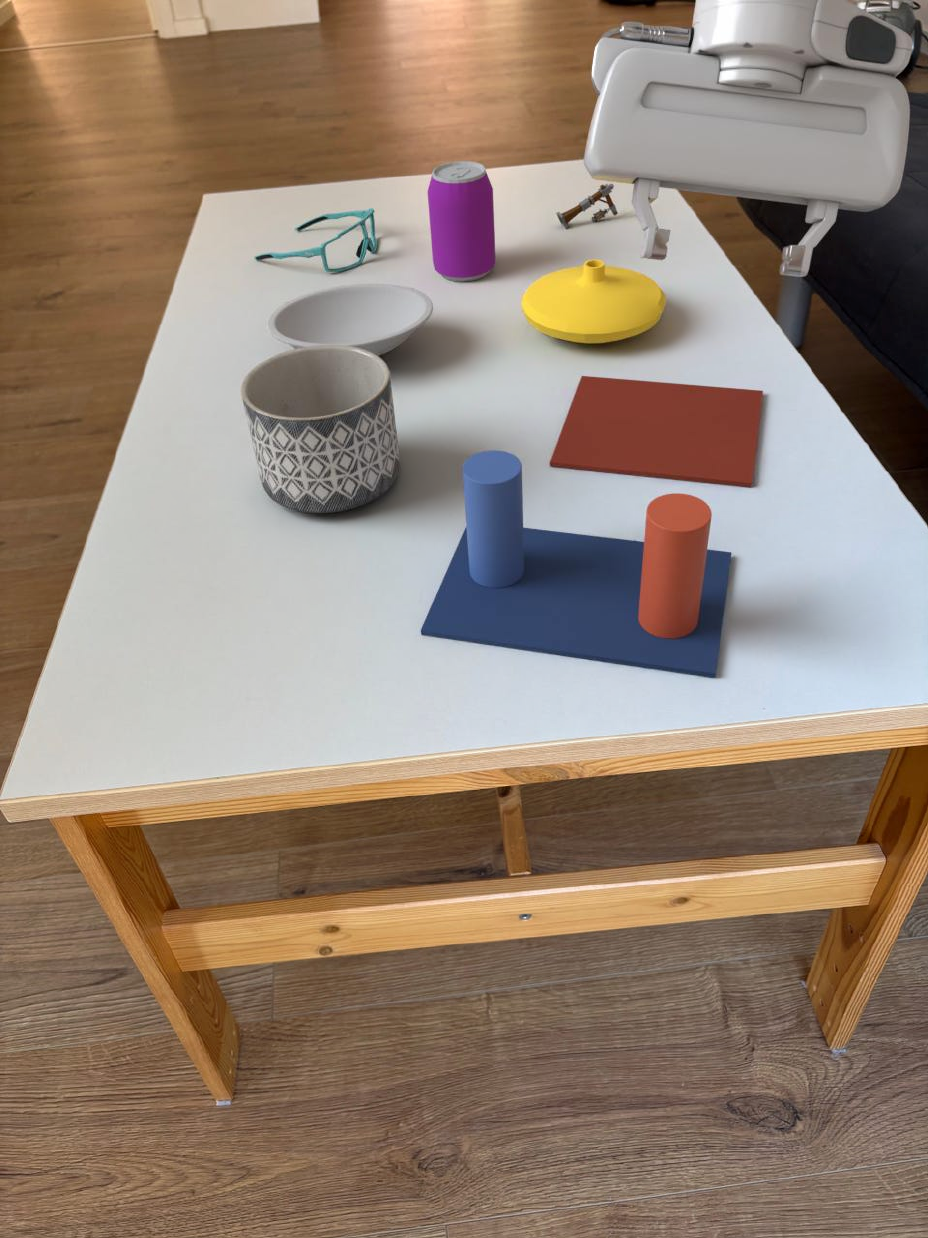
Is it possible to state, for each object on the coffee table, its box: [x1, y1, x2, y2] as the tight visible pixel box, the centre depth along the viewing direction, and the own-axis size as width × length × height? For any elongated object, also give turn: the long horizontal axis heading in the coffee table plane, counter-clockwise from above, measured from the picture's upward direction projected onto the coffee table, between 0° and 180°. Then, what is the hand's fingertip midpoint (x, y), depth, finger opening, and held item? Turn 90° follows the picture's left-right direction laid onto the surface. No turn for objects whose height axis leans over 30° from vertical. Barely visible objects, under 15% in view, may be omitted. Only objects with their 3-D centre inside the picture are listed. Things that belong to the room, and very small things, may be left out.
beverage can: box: [427, 160, 496, 282], centre depth 122 cm, size 8×8×12 cm
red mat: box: [549, 375, 764, 488], centre depth 97 cm, size 18×16×1 cm
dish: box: [266, 283, 434, 357], centre depth 110 cm, size 18×14×5 cm
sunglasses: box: [253, 207, 378, 273], centre depth 132 cm, size 14×15×5 cm
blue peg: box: [462, 449, 524, 588], centre depth 79 cm, size 4×4×10 cm
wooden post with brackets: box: [555, 183, 619, 230], centre depth 134 cm, size 2×8×4 cm, turn 106°
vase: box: [520, 259, 667, 344], centre depth 111 cm, size 16×16×7 cm
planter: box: [240, 345, 401, 514], centre depth 90 cm, size 13×13×10 cm
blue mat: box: [420, 526, 732, 679], centre depth 80 cm, size 22×14×1 cm, turn 75°
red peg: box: [638, 492, 713, 639], centre depth 73 cm, size 4×4×10 cm
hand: (723, 266), depth 68 cm, fingers open, 8 cm apart
